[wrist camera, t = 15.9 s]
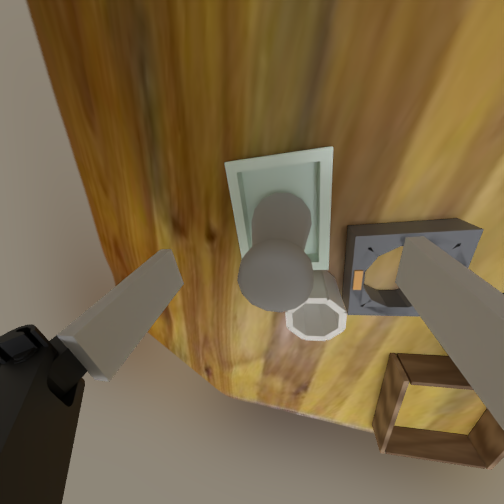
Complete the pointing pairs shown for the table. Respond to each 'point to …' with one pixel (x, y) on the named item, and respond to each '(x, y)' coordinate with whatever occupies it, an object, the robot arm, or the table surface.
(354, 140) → the table surface
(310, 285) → the salt shaker
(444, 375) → the book tray
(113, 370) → the robot arm
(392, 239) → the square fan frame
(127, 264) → the table surface
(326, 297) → the octagonal gray cup
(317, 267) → the mint green tray
